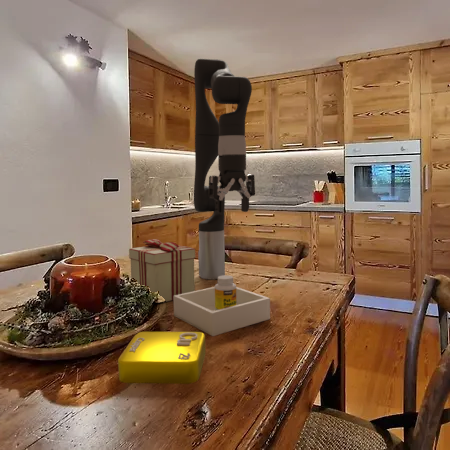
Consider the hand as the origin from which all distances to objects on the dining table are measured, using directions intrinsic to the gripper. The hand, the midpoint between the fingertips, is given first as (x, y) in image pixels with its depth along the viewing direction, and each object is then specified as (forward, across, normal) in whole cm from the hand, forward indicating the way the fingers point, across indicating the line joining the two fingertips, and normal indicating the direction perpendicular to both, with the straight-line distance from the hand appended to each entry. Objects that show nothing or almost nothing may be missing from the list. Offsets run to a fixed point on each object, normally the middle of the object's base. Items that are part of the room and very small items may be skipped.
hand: (232, 212), depth 113 cm
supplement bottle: (+26, +8, +8) cm, 28 cm away
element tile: (+26, +33, +21) cm, 47 cm away
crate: (+26, +9, +6) cm, 28 cm away
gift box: (+27, +10, -23) cm, 37 cm away
